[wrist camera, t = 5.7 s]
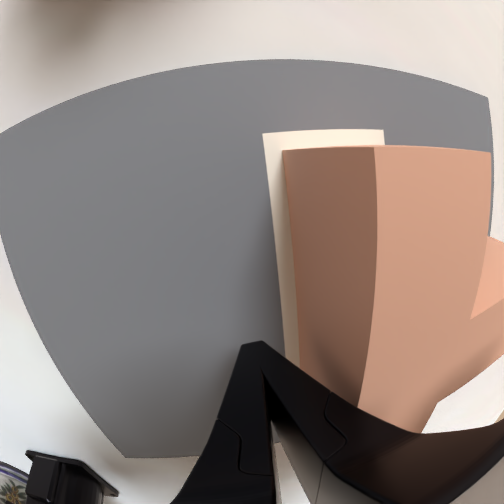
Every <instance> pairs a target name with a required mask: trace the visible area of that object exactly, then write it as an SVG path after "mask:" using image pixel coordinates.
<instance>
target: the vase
mask: <svg viewBox="0 0 504 504" xmlns="http://www.w3.org/2000/svg"><path fill="white" fill-rule="evenodd" d="M28 477H29V475H28V474H26V473H25V472H23V471H21V470H19V469H17V468H15V467H13V466H11V465H9V464H6V463H4V462H0V504H5V502H6V500H8V501H10V502H12V503H14V504H15V503H16V504H25V501H26V497H27V495H26V494H25V488H26V484H27V481H28Z"/></svg>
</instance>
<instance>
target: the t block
mask: <svg viewBox="0 0 504 504" xmlns="http://www.w3.org/2000/svg"><path fill="white" fill-rule="evenodd" d="M282 153H283V161H284V170H285V179H286V188H287V197H288V206H289V216H290V227H291V237H292V249H293V261H294V273H295V287H296V302H297V318H298V336H299V357H300V369H301V370H303V371H304V372H306V373H307V374H308V375H310V376H311V377H312V378H314V379H315V380H317V381H318V382H319V383H321V384H322V385H324V386H325V387H327V388H328V389H329V390H331V392H334V393H335V394H337V395H338V396H340V397H341V398H343V399H344V400H346V401H347V402H349V403H351V404H352V405H354V406H356V407H358V408H359V409H361V410H363V411H365V412H367V413H369V414H371V415H373V416H375V417H378V418H380V419H382V420H384V421H386V422H388V423H391V424H393V425H395V426H397V427H400V428H402V429H405V430H407V431H411V432H415V433H421V432H422V430H423V429H424V427H425V425H426V423H427V422H428V420H429V418H430V416H431V414H432V412H433V410H434V408H435V406H436V404H437V402H439V401H441V400H442V399H444V398H445V397H447V396H449V395H450V394H452V393H453V392H455V391H456V390H458V389H459V388H460V387H462V386H463V385H465V384H466V383H468V382H469V381H470V380H472V379H473V378H474V377H476V376H477V375H478V374H480V373H481V372H482V371H484V370H485V369H486V368H487V367H489V366H490V365H491V364H492V363H494V362H495V361H496V360H497V359H498V358H500V357H501V356H502V355H503V354H504V243H503V242H501V241H499V240H497V239H494V238H492V237H490V236H488V227H489V216H490V202H491V153H490V152H482V151H474V150H465V149H455V148H443V147H428V146H406V145H353V146H331V147H315V148H302V149H290V150H282Z"/></svg>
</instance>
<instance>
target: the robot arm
mask: <svg viewBox="0 0 504 504" xmlns="http://www.w3.org/2000/svg"><path fill="white" fill-rule="evenodd" d="M216 419H217V420H215V423H214V425H213V428H212V431H211V433H210V436H209V438H208V441H207V443H206V445H205V447H204V449H203V451H202V453H201V455H200V457H199V459H198V461H197V463H196V464H195V466H194V468H193V470H192V471H191V473H190V475H189V477H188V478H187V480H186V482H185V484H184V485H183V487H182V489H181V490H180V492H179V493H178V495H177V496H176V497H175V499H174V500H173V501H172V502H171V503H170V504H282V501H281V494H280V486H279V479H278V471H277V463H276V456H275V448H274V440H273V433H272V425H271V422H272V424H273V426H274V428H275V431H276V433H277V435H278V437H279V439H280V442H281V444H282V446H283V448H284V450H285V452H286V454H287V457H288V459H289V461H290V463H291V465H292V467H293V469H294V471H295V473H296V475H297V478H298V480H299V482H300V484H301V486H302V488H303V490H304V492H305V494H306V496H307V498H308V500H309V502H310V504H504V419H502V420H500V421H499V422H497V423H494V424H492V425H489V426H485V427H480V428H474V429H467V430H460V431H451V432H441V433H428V434H423V433H415V432H411V431H407V430H405V429H402V428H400V427H397V426H395V425H393V424H391V423H388V422H386V421H384V420H382V419H380V418H378V417H375V416H373V415H371V414H369V413H367V412H365V411H363V410H361V409H359V408H358V407H356V406H354V405H352V404H351V403H349V402H347V401H346V400H344V399H343V398H341V397H340V396H338V395H337V394H335V393H334V392H331V390H329V389H328V388H327V387H325V386H324V385H322V384H321V383H319V382H318V381H317V380H315V379H314V378H312V377H311V376H310V375H308V374H307V373H306V372H304V371H303V370H301V369H300V368H299V367H297V366H296V365H295V364H293V363H292V362H291V361H289V360H288V359H287V358H285V357H284V356H283V355H281V354H280V353H279V352H277V351H276V350H275V349H273V348H272V347H271V346H270V345H268V344H267V343H266V342H264V341H263V340H259V341H254V342H250V343H245V344H242V345H241V347H240V350H239V353H238V356H237V359H236V362H235V365H234V368H233V371H232V373H231V376H230V379H229V382H228V385H227V388H226V391H225V394H224V397H223V400H222V403H221V406H220V409H219V411H218V414H217V417H216ZM25 455H26V456H27V457H28V458H29V459H30V460H31V461H33V463H32V467H31V470H30V473H29V477H28V481H27V484H26V488H25V494H26V495H27V497H26V501H25V504H103V497H104V495H105V496H112V497H118V494H119V493H118V492H117V491H116V490H115V489H113V488H112V487H111V486H109V485H108V484H107V483H106V482H104V481H103V480H102V479H101V478H100V477H98V476H97V475H96V474H95V473H94V472H93V471H91V470H90V469H89V468H88V467H87V466H86V465H85V464H83V463H82V462H79V461H76V460H70V459H64V458H59V457H54V456H49V455H44V454H40V453H36V452H32V451H28V450H27V451H26V453H25ZM5 504H14V503H12V502H10V501H8V500H6V502H5ZM15 504H16V503H15Z"/></svg>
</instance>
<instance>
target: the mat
mask: <svg viewBox="0 0 504 504" xmlns="http://www.w3.org/2000/svg"><path fill="white" fill-rule="evenodd" d="M353 145H406V146H428V147H443V148H455V149H465V150H474V151H482V152H490V153H491V202H490V216H489V227H488V236H490V230H491V220H492V208H493V189H494V157H493V138H492V126H491V117H490V109H489V102H488V98H487V97H485V96H482V95H480V94H477V93H474V92H472V91H469V90H466V89H463V88H460V87H457V86H454V85H451V84H448V83H445V82H442V81H438V80H435V79H431V78H427V77H423V76H419V75H415V74H411V73H407V72H402V71H397V70H392V69H387V68H381V67H375V66H368V65H361V64H353V63H344V62H334V61H320V60H294V59H275V60H248V61H234V62H224V63H215V64H206V65H199V66H192V67H186V68H180V69H175V70H170V71H165V72H160V73H155V74H151V75H147V76H142V77H138V78H135V79H131V80H127V81H123V82H120V83H117V84H113V85H110V86H107V87H104V88H101V89H98V90H95V91H92V92H89V93H86V94H83V95H81V96H78V97H75V98H73V99H70V100H68V101H65V102H63V103H60V104H58V105H56V106H53V107H51V108H49V109H47V110H44V111H42V112H40V113H38V114H36V115H34V116H32V117H30V118H28V119H26V120H24V121H22V122H20V123H18V124H16V125H15V126H13V127H11V128H9V129H7V130H6V131H4V132H2V133H0V234H1V238H2V241H3V245H4V248H5V252H6V255H7V258H8V261H9V264H10V267H11V270H12V273H13V276H14V279H15V281H16V284H17V287H18V289H19V292H20V294H21V297H22V299H23V302H24V304H25V306H26V308H27V311H28V313H29V315H30V317H31V320H32V322H33V324H34V326H35V328H36V330H37V332H38V334H39V336H40V338H41V340H42V342H43V344H44V345H45V347H46V349H47V351H48V353H49V355H50V356H51V358H52V360H53V362H54V363H55V365H56V367H57V368H58V370H59V372H60V373H61V375H62V376H63V378H64V380H65V381H66V383H67V384H68V386H69V387H70V389H71V390H72V392H73V393H74V395H75V396H76V398H77V399H78V400H79V402H80V403H81V405H82V406H83V407H84V409H85V410H86V411H87V413H88V414H89V415H90V417H91V418H92V419H93V421H94V422H95V423H96V424H97V426H98V427H99V428H100V429H101V431H102V432H103V433H104V434H105V435H106V437H107V438H108V439H109V440H110V441H111V442H112V443H113V445H114V446H115V447H116V448H117V449H118V450H119V451H120V452H121V453H122V455H123V456H124V457H125V458H172V457H188V456H200V455H201V453H202V451H203V449H204V447H205V445H206V443H207V441H208V438H209V436H210V433H211V431H212V428H213V425H214V423H215V420H217V419H216V417H217V414H218V411H219V409H220V406H221V403H222V400H223V397H224V394H225V391H226V388H227V385H228V382H229V379H230V376H231V373H232V371H233V368H234V365H235V362H236V359H237V356H238V353H239V350H240V347H241V345H242V344H245V343H250V342H254V341H259V340H263V341H264V342H266V343H267V344H268V345H270V346H271V347H272V348H273V349H275V350H276V351H277V352H279V353H280V354H281V355H283V356H284V357H285V358H287V359H288V360H289V361H291V362H292V363H293V364H295V365H296V366H297V367H299V368H300V357H299V336H298V318H297V302H296V287H295V273H294V261H293V249H292V237H291V227H290V216H289V206H288V197H287V188H286V179H285V170H284V161H283V153H282V150H290V149H302V148H315V147H331V146H353ZM271 425H272V433H273V440H274V443H278V442H280V439H279V437H278V435H277V433H276V431H275V428H274V426H273V424H272V422H271Z"/></svg>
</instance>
